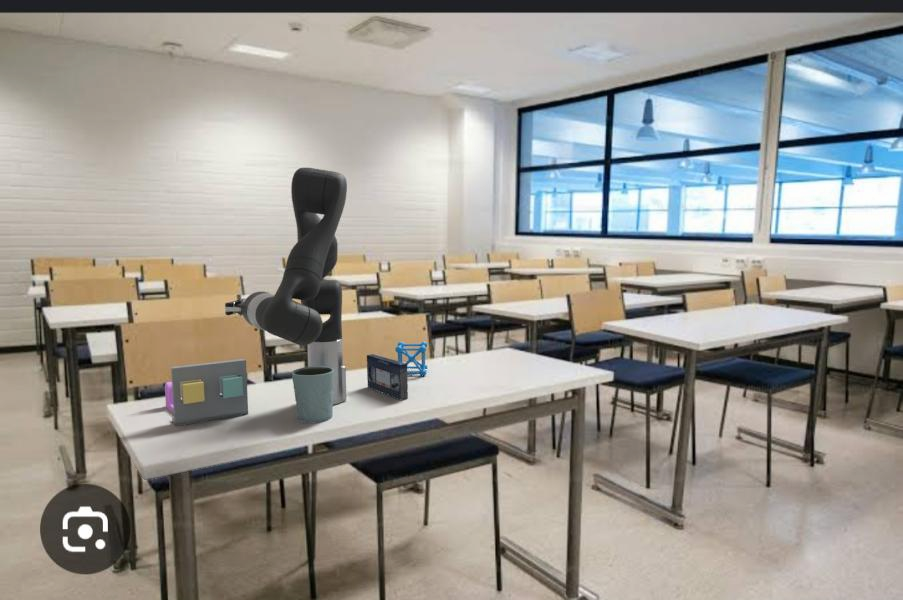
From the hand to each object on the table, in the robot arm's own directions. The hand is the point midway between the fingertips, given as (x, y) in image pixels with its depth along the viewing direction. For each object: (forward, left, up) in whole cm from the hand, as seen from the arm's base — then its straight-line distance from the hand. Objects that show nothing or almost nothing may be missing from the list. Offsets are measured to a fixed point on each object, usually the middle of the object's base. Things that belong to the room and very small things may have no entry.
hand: (244, 303), depth 136 cm
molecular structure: (-60, -29, -30) cm, 73 cm away
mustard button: (+10, -14, -24) cm, 29 cm away
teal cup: (-16, -1, -30) cm, 34 cm away
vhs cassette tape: (-42, -12, -30) cm, 53 cm away
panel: (+5, -15, -30) cm, 34 cm away
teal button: (+1, -14, -24) cm, 28 cm away
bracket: (+10, -26, -30) cm, 41 cm away
